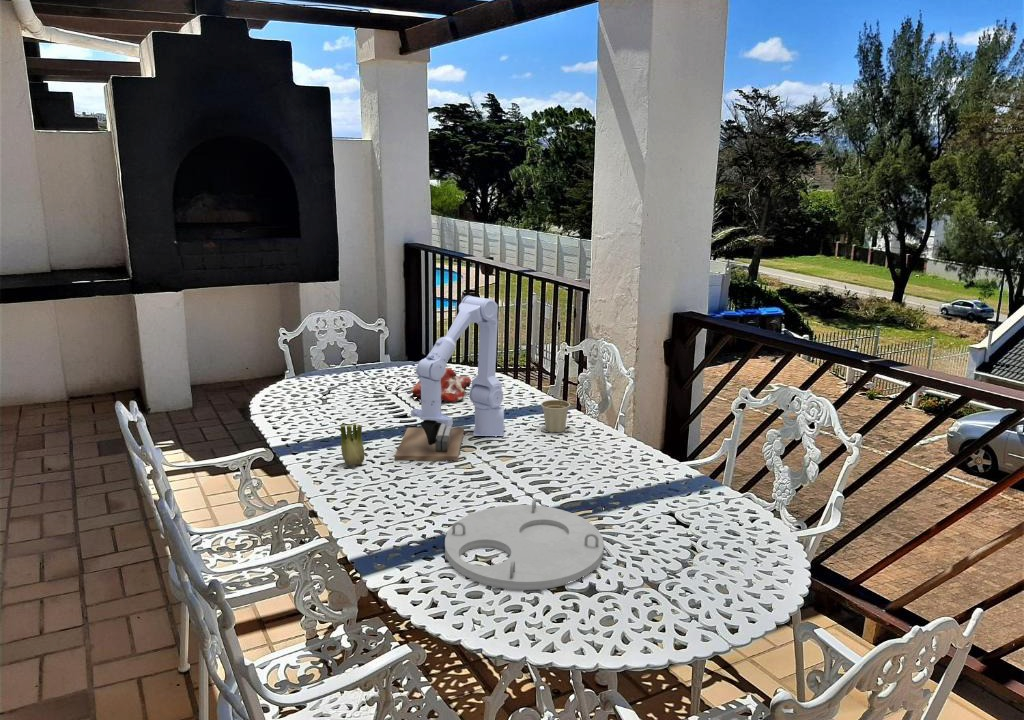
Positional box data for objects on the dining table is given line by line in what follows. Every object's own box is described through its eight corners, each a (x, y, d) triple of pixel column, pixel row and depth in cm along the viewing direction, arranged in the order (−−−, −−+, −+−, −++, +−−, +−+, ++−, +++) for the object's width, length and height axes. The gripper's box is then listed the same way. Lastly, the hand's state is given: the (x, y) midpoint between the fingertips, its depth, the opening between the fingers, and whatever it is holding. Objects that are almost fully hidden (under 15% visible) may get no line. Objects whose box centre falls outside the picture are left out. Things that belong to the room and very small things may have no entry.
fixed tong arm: (447, 433, 225) (447, 424, 225) (452, 433, 225) (452, 424, 225) (442, 451, 211) (441, 441, 210) (447, 451, 211) (447, 441, 210)
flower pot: (536, 432, 233) (536, 406, 230) (546, 423, 241) (546, 398, 239) (564, 436, 229) (565, 410, 227) (573, 427, 238) (574, 401, 235)
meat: (466, 406, 258) (466, 379, 256) (407, 405, 260) (406, 378, 257) (473, 390, 279) (473, 364, 276) (418, 388, 280) (417, 363, 277)
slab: (598, 599, 141) (599, 576, 140) (425, 582, 147) (424, 559, 146) (607, 519, 174) (607, 500, 173) (465, 507, 180) (465, 488, 179)
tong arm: (440, 429, 229) (439, 419, 228) (449, 429, 229) (448, 419, 228) (433, 451, 211) (433, 440, 210) (443, 451, 211) (442, 440, 210)
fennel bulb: (340, 465, 205) (338, 425, 202) (351, 459, 209) (349, 420, 206) (357, 469, 202) (355, 428, 200) (367, 463, 207) (365, 423, 204)
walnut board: (464, 432, 232) (464, 428, 231) (457, 461, 208) (457, 456, 208) (407, 432, 232) (407, 427, 231) (394, 460, 209) (394, 455, 208)
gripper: (403, 398, 211) (404, 442, 215) (440, 407, 203) (441, 453, 206) (419, 392, 217) (420, 435, 220) (457, 401, 209) (457, 446, 212)
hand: (432, 443), depth 214 cm, fingers closed
